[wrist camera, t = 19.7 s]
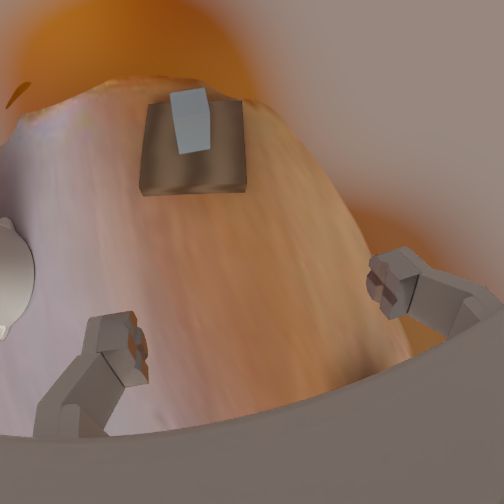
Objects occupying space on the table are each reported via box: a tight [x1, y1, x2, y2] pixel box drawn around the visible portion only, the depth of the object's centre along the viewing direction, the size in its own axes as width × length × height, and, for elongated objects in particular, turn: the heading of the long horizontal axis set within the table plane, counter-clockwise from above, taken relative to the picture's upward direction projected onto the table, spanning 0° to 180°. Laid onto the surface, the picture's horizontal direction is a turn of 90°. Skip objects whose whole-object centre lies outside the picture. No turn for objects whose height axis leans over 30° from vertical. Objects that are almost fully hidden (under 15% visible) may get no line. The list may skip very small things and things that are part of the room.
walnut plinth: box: [139, 101, 247, 196], centre depth 42 cm, size 14×14×3 cm
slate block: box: [170, 88, 210, 154], centre depth 36 cm, size 4×4×8 cm
